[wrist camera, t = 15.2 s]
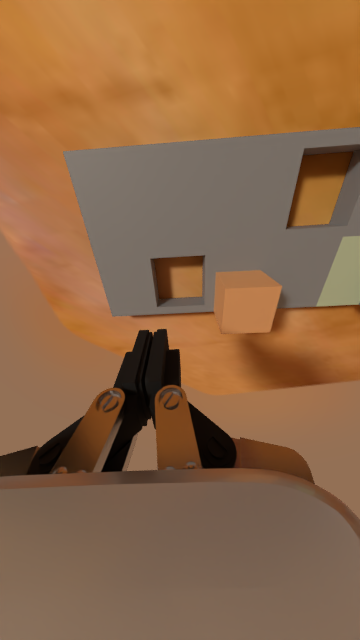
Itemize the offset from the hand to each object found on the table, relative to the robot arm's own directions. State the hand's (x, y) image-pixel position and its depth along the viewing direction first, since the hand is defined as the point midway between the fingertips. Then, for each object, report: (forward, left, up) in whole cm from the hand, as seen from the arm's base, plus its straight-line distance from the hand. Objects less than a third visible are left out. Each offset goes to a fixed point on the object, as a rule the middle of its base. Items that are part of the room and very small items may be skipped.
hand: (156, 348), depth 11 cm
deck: (-8, -4, -14) cm, 17 cm away
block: (-8, +1, -11) cm, 14 cm away
